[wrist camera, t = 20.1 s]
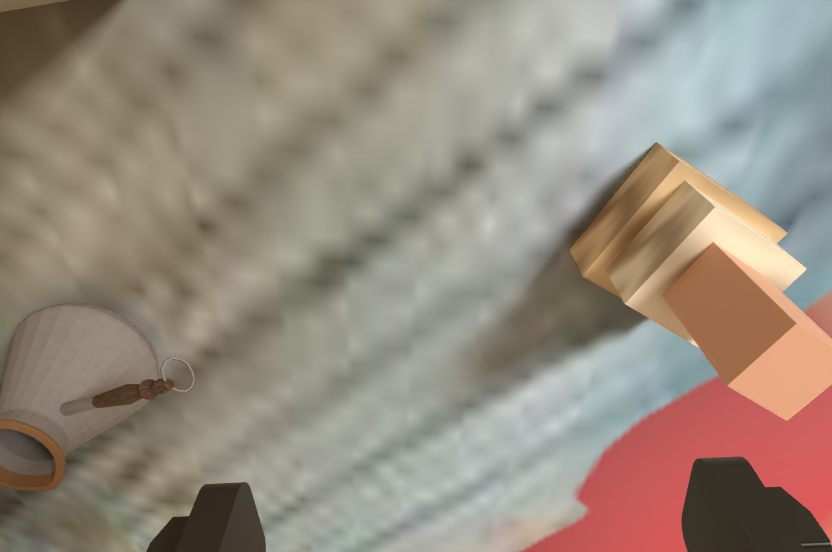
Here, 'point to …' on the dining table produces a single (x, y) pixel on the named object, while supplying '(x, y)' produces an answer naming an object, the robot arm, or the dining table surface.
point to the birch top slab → (691, 253)
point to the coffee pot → (70, 388)
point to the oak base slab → (651, 212)
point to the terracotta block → (752, 333)
